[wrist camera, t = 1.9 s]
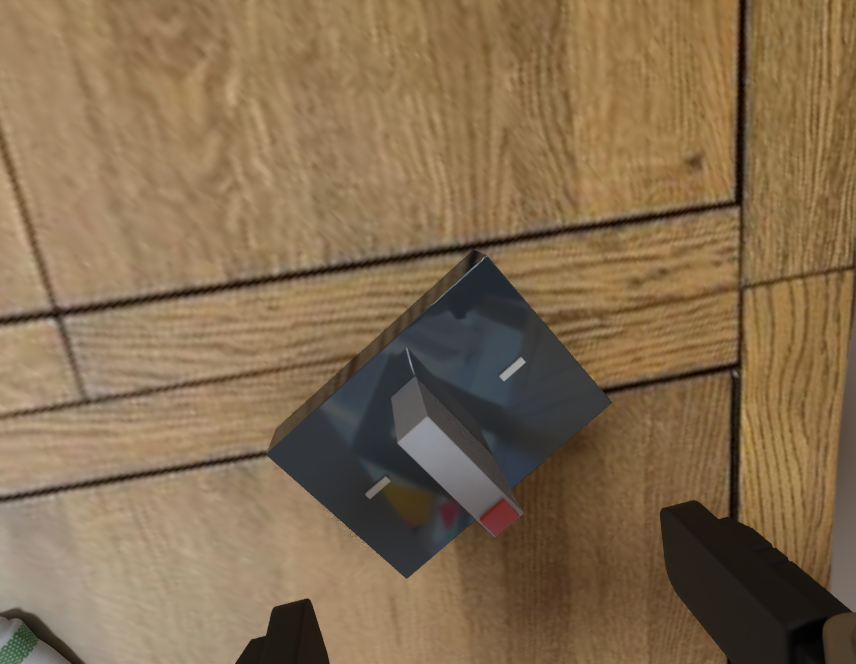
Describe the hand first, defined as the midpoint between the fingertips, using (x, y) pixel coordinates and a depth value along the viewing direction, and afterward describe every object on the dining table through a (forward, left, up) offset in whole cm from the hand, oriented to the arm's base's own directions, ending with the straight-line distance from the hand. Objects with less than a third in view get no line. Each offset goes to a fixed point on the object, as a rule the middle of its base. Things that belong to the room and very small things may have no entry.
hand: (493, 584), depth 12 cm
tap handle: (+1, +3, -14) cm, 14 cm away
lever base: (+1, +2, -17) cm, 17 cm away
